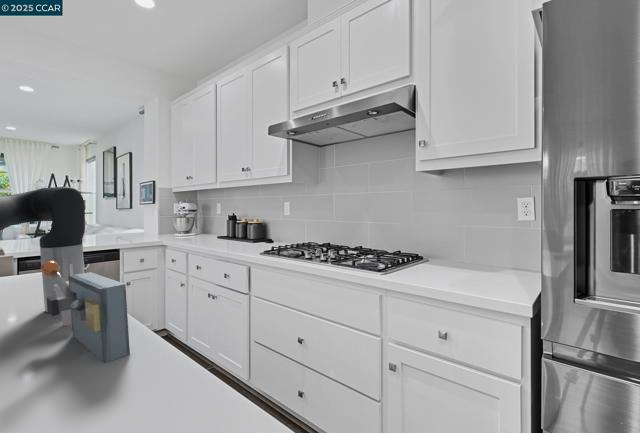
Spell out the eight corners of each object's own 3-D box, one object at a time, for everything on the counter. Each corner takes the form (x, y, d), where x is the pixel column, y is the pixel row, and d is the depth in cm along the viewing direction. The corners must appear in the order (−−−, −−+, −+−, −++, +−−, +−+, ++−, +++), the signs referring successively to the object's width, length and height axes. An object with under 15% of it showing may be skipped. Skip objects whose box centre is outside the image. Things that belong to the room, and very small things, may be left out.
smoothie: (71, 328, 75) (67, 267, 74) (48, 327, 76) (44, 267, 75) (96, 318, 81) (92, 262, 80) (74, 317, 82) (70, 262, 82)
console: (65, 338, 69) (61, 276, 69) (94, 330, 73) (90, 272, 73) (96, 365, 56) (91, 290, 56) (129, 354, 60) (125, 284, 60)
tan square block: (86, 326, 60) (84, 300, 59) (111, 319, 63) (109, 295, 63) (94, 331, 57) (92, 305, 57) (120, 324, 60) (118, 299, 60)
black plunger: (47, 312, 66) (46, 297, 66) (71, 306, 69) (70, 292, 69) (52, 316, 64) (51, 300, 63) (77, 310, 67) (76, 295, 67)
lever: (69, 310, 63) (36, 265, 59) (84, 302, 64) (52, 257, 61) (73, 313, 61) (39, 267, 57) (88, 304, 63) (55, 258, 59)
